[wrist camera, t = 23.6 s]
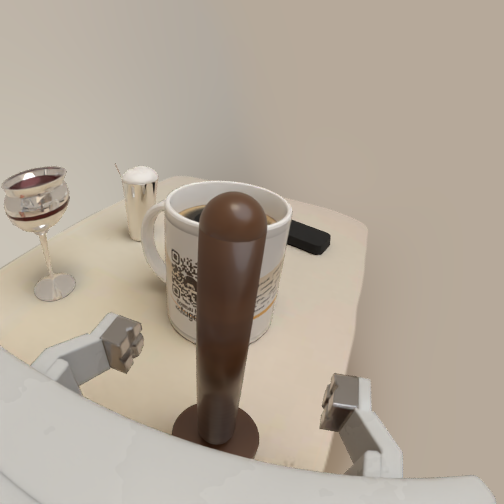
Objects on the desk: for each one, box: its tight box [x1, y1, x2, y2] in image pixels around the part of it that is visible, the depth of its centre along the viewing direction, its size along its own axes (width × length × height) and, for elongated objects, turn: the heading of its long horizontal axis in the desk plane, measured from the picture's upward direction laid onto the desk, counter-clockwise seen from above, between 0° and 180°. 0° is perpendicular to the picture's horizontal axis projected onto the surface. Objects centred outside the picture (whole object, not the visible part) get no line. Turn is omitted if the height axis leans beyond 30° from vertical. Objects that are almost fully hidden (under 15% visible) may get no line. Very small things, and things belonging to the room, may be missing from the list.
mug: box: [141, 181, 293, 344], centre depth 28 cm, size 10×12×11 cm
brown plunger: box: [172, 191, 268, 459], centre depth 13 cm, size 5×5×17 cm
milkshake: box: [115, 164, 158, 241], centre depth 38 cm, size 5×5×10 cm
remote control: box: [287, 220, 331, 254], centre depth 45 cm, size 5×2×15 cm
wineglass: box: [1, 166, 76, 301], centre depth 26 cm, size 7×7×12 cm
